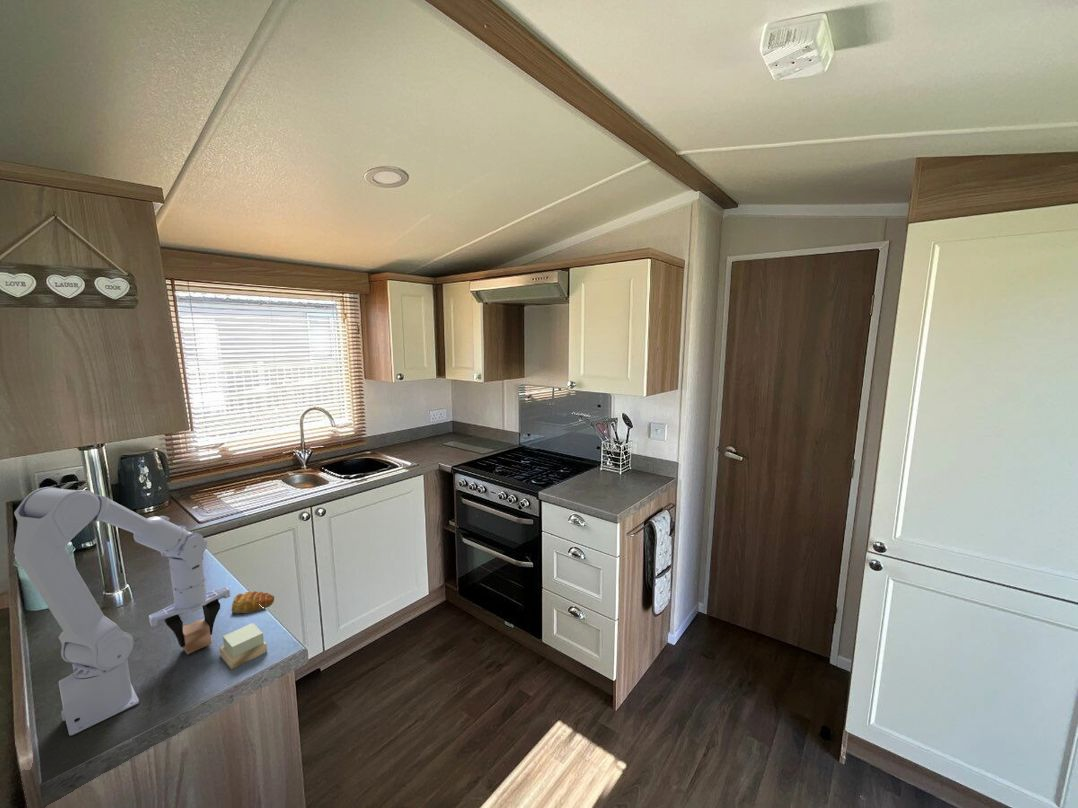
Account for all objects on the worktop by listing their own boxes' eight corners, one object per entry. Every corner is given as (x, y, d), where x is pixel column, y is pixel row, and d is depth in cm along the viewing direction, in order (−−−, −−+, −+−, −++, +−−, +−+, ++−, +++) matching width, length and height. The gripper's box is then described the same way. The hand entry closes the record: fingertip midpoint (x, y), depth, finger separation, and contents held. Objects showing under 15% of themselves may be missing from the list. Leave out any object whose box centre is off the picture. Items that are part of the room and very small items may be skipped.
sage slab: (233, 657, 96) (232, 647, 96) (223, 646, 100) (222, 636, 100) (264, 643, 101) (262, 632, 101) (253, 632, 105) (252, 622, 105)
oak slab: (231, 671, 96) (230, 660, 96) (220, 657, 100) (219, 647, 100) (267, 653, 101) (266, 643, 101) (255, 641, 106) (254, 631, 105)
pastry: (278, 597, 124) (276, 584, 123) (269, 611, 117) (268, 598, 117) (240, 602, 122) (238, 589, 121) (229, 617, 115) (227, 603, 115)
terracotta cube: (187, 654, 100) (185, 635, 99) (181, 646, 102) (179, 628, 102) (211, 643, 103) (209, 625, 103) (205, 636, 106) (203, 618, 105)
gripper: (151, 604, 93) (159, 664, 95) (232, 575, 104) (238, 629, 106) (143, 593, 97) (151, 650, 99) (221, 566, 108) (227, 619, 110)
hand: (195, 639), depth 103 cm, fingers closed on terracotta cube, 4 cm apart
